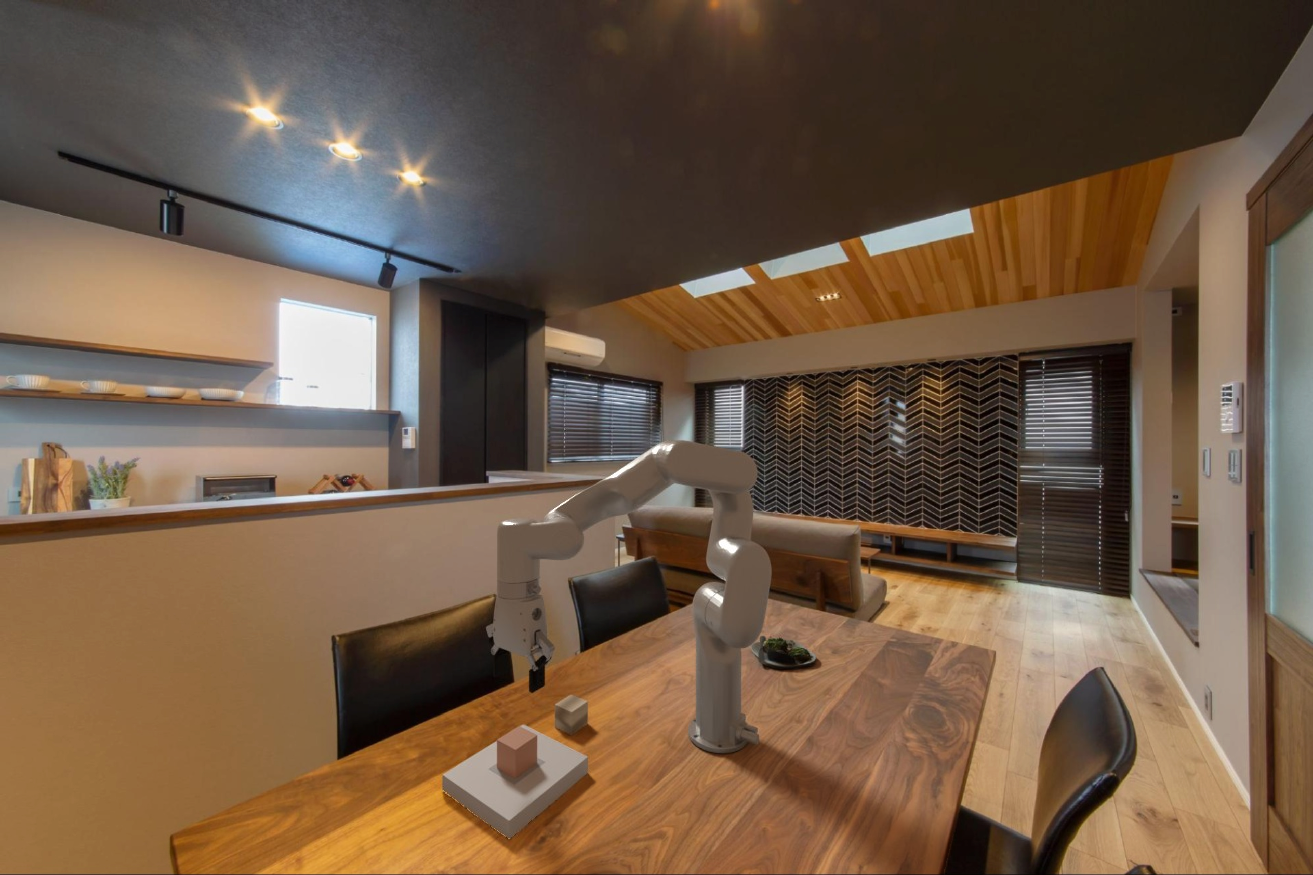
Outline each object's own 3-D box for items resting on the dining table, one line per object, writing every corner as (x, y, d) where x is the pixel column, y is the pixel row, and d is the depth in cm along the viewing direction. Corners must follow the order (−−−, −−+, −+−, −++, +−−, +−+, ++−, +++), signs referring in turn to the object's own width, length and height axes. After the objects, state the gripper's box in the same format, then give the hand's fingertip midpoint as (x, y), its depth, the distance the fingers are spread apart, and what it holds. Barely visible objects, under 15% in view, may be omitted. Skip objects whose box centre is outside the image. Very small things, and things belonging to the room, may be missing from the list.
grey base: (587, 772, 88) (587, 756, 88) (509, 839, 73) (509, 820, 73) (523, 738, 98) (523, 723, 98) (442, 791, 83) (442, 774, 83)
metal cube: (587, 723, 104) (587, 701, 104) (571, 735, 99) (571, 711, 99) (571, 716, 106) (571, 694, 106) (554, 727, 102) (554, 704, 102)
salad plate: (737, 644, 145) (737, 629, 145) (790, 639, 149) (790, 624, 149) (764, 674, 126) (764, 657, 126) (824, 667, 130) (824, 651, 130)
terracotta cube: (537, 762, 86) (537, 734, 87) (515, 778, 82) (515, 749, 82) (518, 752, 89) (519, 725, 89) (496, 767, 85) (497, 739, 85)
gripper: (567, 590, 84) (567, 686, 84) (504, 575, 94) (504, 661, 94) (535, 602, 78) (535, 705, 78) (471, 584, 88) (471, 676, 88)
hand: (518, 681), depth 86 cm, fingers open, 9 cm apart
